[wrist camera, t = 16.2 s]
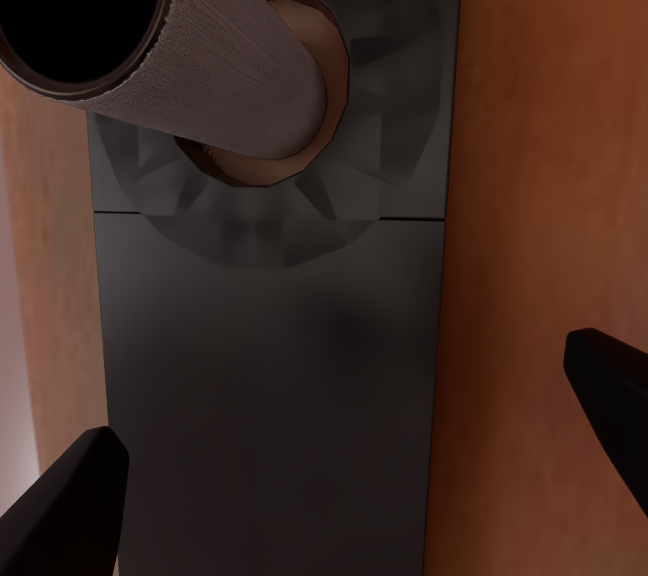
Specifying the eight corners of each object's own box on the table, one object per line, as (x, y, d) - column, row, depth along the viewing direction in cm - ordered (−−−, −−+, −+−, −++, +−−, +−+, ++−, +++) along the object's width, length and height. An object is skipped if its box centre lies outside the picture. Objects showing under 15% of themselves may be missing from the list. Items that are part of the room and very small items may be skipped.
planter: (208, 60, 18) (-70, -118, 8) (314, 22, 17) (134, -243, 7) (234, 173, 19) (2, 130, 9) (339, 144, 17) (203, 57, 7)
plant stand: (411, 743, 21) (408, 796, 19) (152, 663, 24) (127, 701, 23) (469, -137, 15) (473, -188, 13) (108, -78, 18) (69, -112, 16)
